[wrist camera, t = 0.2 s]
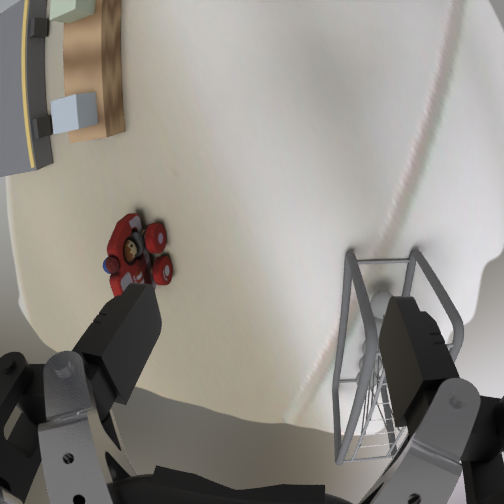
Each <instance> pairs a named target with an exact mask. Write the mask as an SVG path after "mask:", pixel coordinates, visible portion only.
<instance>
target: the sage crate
mask: <svg viewBox="0 0 504 504" xmlns="http://www.w3.org/2000/svg"><path fill="white" fill-rule="evenodd" d="M95 1H96V0H51V6H50V21H58V22H64V23H72V22H74V21H77V20H79V19H82V18H85V17H87V16H90V15H93V14H95Z"/></svg>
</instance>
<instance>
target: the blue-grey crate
mask: <svg viewBox="0 0 504 504" xmlns="http://www.w3.org/2000/svg"><path fill="white" fill-rule="evenodd" d="M51 114H52V124H53V133H54V134H58V133H63V132H67V131H72V130H77V129H81V128H85V127H88V126H92V125H96V124H98V114H97V101H96V92H90V93H81V94H74V95H71V96H67V97H64V98H61V99H57V100H54V101H51Z"/></svg>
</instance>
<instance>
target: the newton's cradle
mask: <svg viewBox="0 0 504 504" xmlns="http://www.w3.org/2000/svg"><path fill="white" fill-rule="evenodd" d="M416 260H417V262H418V264H419V265H420V267H421V269H422V270H423V272H424V274H425V275H426V277H427V279H428V281H429V282H430V284H431V286H432V287H433V289H434V291H435V293H436V295H437V296H438V298H439V300H440V302H441V304H442V305H443V307H444V309H445V311H446V313H447V315H448V317H449V319H450V321H451V322H452V325H453V330H454V337H453V342H452V344H446V345H447V348H450V350H449V352H450V355H451V357H452V359H453V362H455V360H456V358H457V356H458V353H459V351H460V349H461V347H462V343H463V339H464V326H463V321H462V319H461V317H460V315H459V313H458V311H457V309H456V308H455V306H454V304H453V303H452V301H451V299H450V297H449V296H448V294H447V292H446V291H445V289H444V287H443V286H442V284H441V283H440V281H439V279H438V278H437V276H436V275H435V273H434V271H433V270H432V268H431V267H430V265H429V264H428V262H427V261H426V259H425V258H424V256H423V255H422V253H421V252H420V251H419V250H414V251H413V252H412V253H411V254H410V257H409V260H380V261H357V259H356V256H355V254H354V253H353V252H348V253H347V254H346V256H345V264H344V280H343V294H342V306H341V317H340V327H339V337H338V345H337V354H336V362H335V370H334V377H333V386H332V396H333V416H334V442H335V443H334V444H335V463H336V464H337V465H342V464H343V462H355V461H365V460H375V459H383V458H390V457H392V458H393V457H394V455H395V454H396V452H397V451H398V450H397V447H396V443H397V441H398V440H399V438H400V436H401V435H402V433H403V431H404V429H405V427H406V426H404V427H403V428H402V429H401V430H399V427H397V428H398V430H399V431H400V433H399V435H398V436H397V438H396V440H395V434H394V428H393V422H392V419H394V416H393V418H392V416H391V413H392V410H391V408H390V405H389V400H388V395H387V390H386V384H387V383H386V382H387V380H386V375H385V371H384V366H383V371H382V375H381V378H379V371H380V370H381V368H382V365H383V362H382V359H381V353H380V349H379V335H380V330H381V327H382V323H383V320H384V316H385V313H386V309H387V306H388V302H389V299H390V298H391V297H392V296H393V295H392V294H391V293H389V292H385V291H383V292H379V293H377V294H375V295H374V296H373V297H372V299H371V302H369V298H368V295H367V291H366V288H365V285H364V282H363V278H362V275H361V272H360V269H359V266H358V264H377V263H406V262H408V267H407V273H406V279H405V284H404V289H403V294H402V296H410V291H411V286H412V281H413V276H414V271H415V265H416ZM352 278H353V282H354V286H355V290H356V294H357V298H358V302H359V306H360V310H361V315H362V319H363V323H364V328H365V334H366V340H365V342H364V344H363V352H364V354H365V355H364V356H363V357H362V358H361V360H360V363H359V366H360V370H361V371H360V372H359V373H358V375H357V377H356V380H344V381H339V378H340V372H341V365H342V358H343V351H344V344H345V336H346V328H347V320H348V311H349V301H350V291H351V279H352ZM373 315H374V316H375V317H374V316H373ZM379 380H380V381H379ZM345 382H357V385H358V386H357V391H356V395H355V399H354V402H353V406H352V410H351V414H350V417H349V421H348V425H347V428H346V432H345V435H344V438H343V442H342V445H341V428H340V410H339V395H338V385H339V383H345ZM378 383H379V385H378ZM376 384H377V391H376V394H375V396H374V393H373V389H374V386H375V385H376ZM370 389H371V391H372V400H371V409H370V412H369V415H368V405H369V394H370ZM367 390H369V393H368V405H367V415H368V418H367V415H366V423H365V426H364V428H363V423H364V414H365V405H364V414H363V423H362V431H361V436H360V439H359V442H358V444H357V447H356V449H355V452H354V454H353V456H352V459H351V460H344V459H345V456H346V454H347V451H348V448H349V445H350V443H351V440H352V437H353V434H354V431H355V428H356V425H357V422H358V419H359V416H360V413H361V409H362V406H363V403H364V399H365V404H366V394H367ZM380 390H381V395H382V401H383V403H380V404H383V406H384V412H385V418H386V419H384V418H383V416H382V413H381V411H380V408H379V406H378V403H377V399H378V396H379V393H380ZM373 396H374V400H373ZM372 402H373V403H372ZM390 403H391V402H390ZM375 405H377V406H378V408H379V411H380V413H381V416H382V420H383V421H384V420H386V423H385V421H384V424H385V426H386V425H387V426H386V429H387V433H388V438H389V445H390V450H389V452H388V454H387V455H386V456H381V457H372V458H363V459H354V458H355V456H356V453H357V451H358V449H359V447H360V445H361V441H362V439H363V436H364V435H365V433H366V429H367V426H368V424H369V421H371V416H372V413H373V410H374V407H375ZM392 415H393V413H392ZM372 421H379V420H372ZM396 432H398V431H396ZM377 434H382V433H377ZM408 434H409V433H408ZM408 434H407V435H408ZM368 435H374V434H368ZM407 435H406V436H407ZM405 438H406V437H405ZM403 441H404V440H403ZM402 443H403V442H402ZM402 443H401V444H402ZM383 445H384V444H383ZM376 446H377V445H376ZM400 446H401V445H400ZM365 447H366V446H365ZM367 447H368V446H367ZM398 449H399V448H398ZM390 453H391V455H390Z"/></svg>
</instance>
